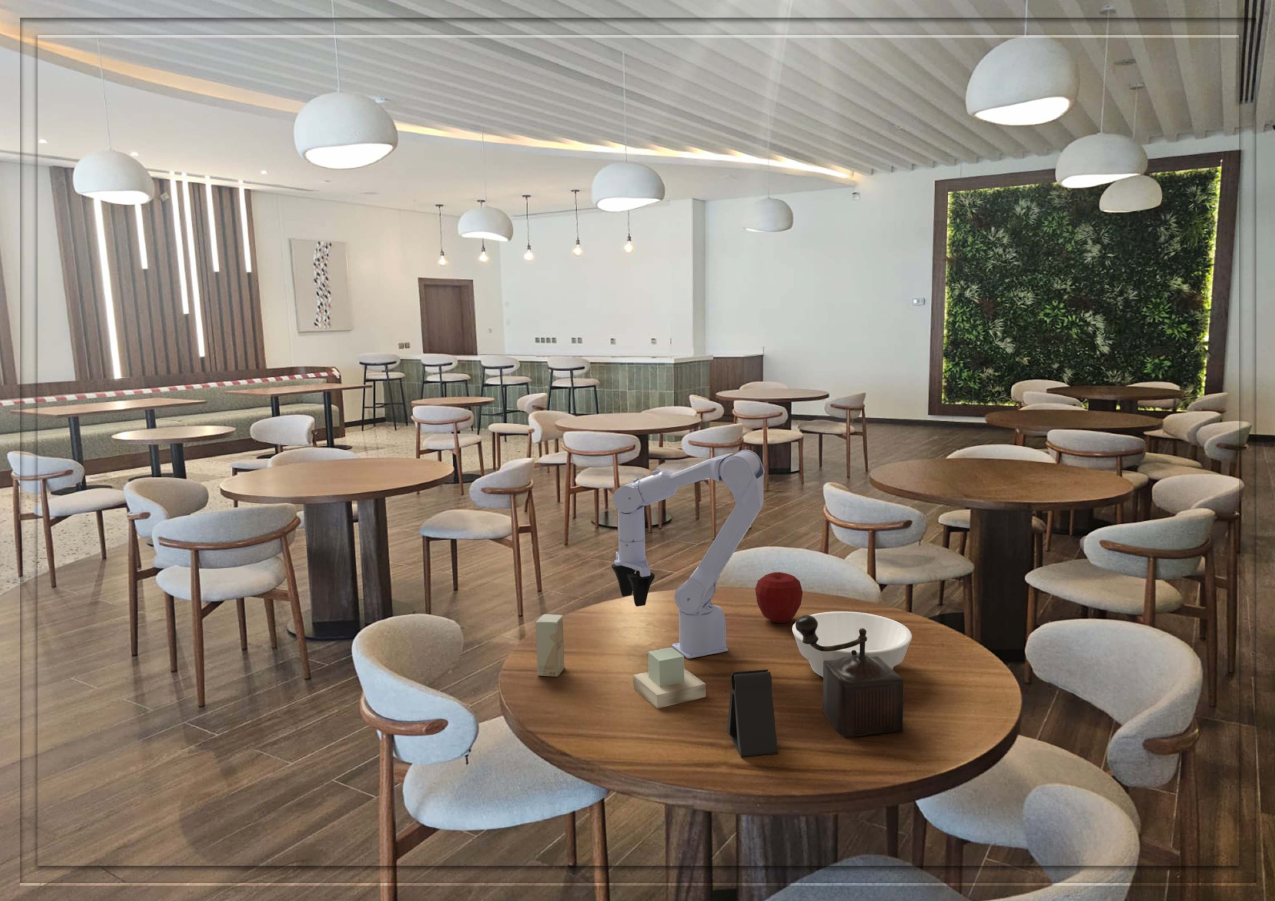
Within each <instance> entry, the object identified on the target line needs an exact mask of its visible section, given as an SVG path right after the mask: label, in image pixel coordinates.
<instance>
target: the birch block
mask: <svg viewBox="0 0 1275 901" xmlns="http://www.w3.org/2000/svg"><path fill="white" fill-rule="evenodd" d="M632 683H633V684H632V687H634V688H633V689H634V690H635V691H637V692H638V693H639V694H640V695H641V696H642V697H643V698H645V699H646V700H647V701H648V702H649V703H650V704H651V705H653V707H655V708H656V709H661V708H665V707H669V706H673V705H677V704H678V705H679V704H681V703H686V702H689V701H694V700H698V699H702V698H706V697H707V690H706V688H707V687H706V686H707V683H705V682H704V681H703V680H701V679H700V678H698V677H697V676H695V675H694V674H693V673H691V672H690V671H689V670H687V669H686V668H685V667H684V682H683V683H678V684H673V685H669V686H664V687H659V686H658V685H657V684H656V683H654V682H653V681H652V680H651V679H650V678H649V677H648V671H646V672H640V673H637V674H636V673H635V674H632Z"/></svg>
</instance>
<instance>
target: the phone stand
mask: <svg viewBox="0 0 1275 901" xmlns="http://www.w3.org/2000/svg"><path fill="white" fill-rule="evenodd" d="M772 686H773V680H772V674H771V671H769V669H766V668H765V669H757V670H755V669H754V670H745V671H742V670H741V671H732V672H731V674H730V695H729V703H728V704H729V705H728V706H729V707H728V712H727V713H728V714H727V716H728V717H727V723H726V724H727V727H726V732H727V733H728V735H729V738H730V740H731V741H732V743H733V745H734V747H735V749H736V751H737V753H738V755H739V757H740V756H741V757H740V758H745V757H757V756H767V755H777V754H778V753H779V749H778V741H777V739H778V738H777V731H776V720H775V709H774V702H773V688H772Z"/></svg>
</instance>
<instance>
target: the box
mask: <svg viewBox="0 0 1275 901" xmlns="http://www.w3.org/2000/svg"><path fill="white" fill-rule="evenodd" d="M564 638H565V637H564V616H563V614H551V613H550V614H549V613H544V614H542V615H541V616H540V617H539V618H538V619H537V620H536V621H535V641H536V643H535V644H536V662H537V663H536V664H537V667H536V668H537V676H541V677H543V676H544V677H559V676H560V674H561V673H562V672H563V670H564V669H565V645H564V644H565V642H564V641H565V640H564Z"/></svg>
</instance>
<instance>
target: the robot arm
mask: <svg viewBox="0 0 1275 901" xmlns="http://www.w3.org/2000/svg"><path fill="white" fill-rule="evenodd" d="M734 453H735V452H730V453H726V454H722V455H718V456H714V457H712V458H709V459H706V460H704V461H701V462H699V463H697V464H693V465H692V466H689V467H686V468H685V469H684V468H683V469H681V470H679V471H676V472H675V473H672V472H669V471H667V470H661V471H660V469H656V470H654V471H651V475H648V476H645V477H643V478H638V477H636V478H634V479H632V482H629V483H626V484H625V485H624V484H623V485H621V486H620V487H618V488H617V489H616V490H615V491H614V493H613V495H612V503H613V506H614V507H615V508H616V510H617V534H618V535H617V539H618V551H616V552H615V560H613V563H612V564H611V565H610V566H611V569H612V570H613V572H614V573H615V576H616V579H617V583H618V587H619V591H620V594H621V597H629V596H632V595H633V596H632V597H633V602H634V605H635V607H638V608H639V607H645V606H646V604H647V601H648V600H647V599H648V594H649V590H650V587H651V586H652V583H653V581H654V579H655V577H656V576H655V575H656V574H654V573H653V572H651V567H650V565H649V564H648V559H647V557H646V531H645V530H646V528H645V527H646V526H645V525H646V524H645V523H646V521H645V506H650V505H653V504H655V503H658V502H661V501H663V500H666V499H669V498H672V497H674V496H675V494H676V493H677V491H678V489H679V488H682V487H685V486H688V485H691V484H693V483H697V482H700V481H702V480H706V479H711V480H713V481H716V482H718V483H719V482H720V481H723V483H724V484H725V486H726V487H727V488H728V490H729V491H730V492H731V493H732V496H733V499H734V503H735V505H734V508H733V509H732V510H731V512H730V514H729V516H728V517H727V519H726V520H725V522H724V523H723V525H722V526H721V528H720V530H719V532H718V533H717V535H716V537H715V538H714V540H713V542H712V543H711V545H710V546H709V548H708V549H707V551H706V553H705V554H704V556H703V558H702V559H701V561H700V563H699V564H698V565H697V567H696V569H694V571H693V572H692V574H691V575H690V576H689V578H688V579H687V580H686V581H685V582H684V583H683V584H681V585H680V586H679V587H677V588H676V590H675V593H674V602H675V604H676V606H677V608H678V633H679V634H678V641H679V642H675V643H672V644H671V647H673V648H674V649H675V650H677V651H678V652H679V653H680V654H682V655H683V656H684V658H686V659H688V660H689V659H693V658H698V657H704V656H708V655H709V656H710V655H713V654H714V655H715V654H720V653H725V652H728V651H729V649H728V648H727V623H726V622H727V620H726V615H725V613H724V610H723V609H722V607H720V606H719V605H713V602H712V599H713V597H714V596H715V593H716V590H717V584H718V583H717V582H718V581H719V579H720V578H721V574H722V572H723V570H724V569H725V567H726V565H727V564H728V562H729V561H730V559H731V558H732V556H733V554H734V553H735V552H736V550H737V548H738V546H740V544H741V542H742V540H743V539H744V537H745V535H746V534H747V532H748V531H749V529H750V527H751V526H752V524H753V523H754V521H755V520H756V518H757V517H758V515H759V513H760V512H761V510H762V508H763V505H764V502H765V501H764V497H765V496H764V491H765V490H764V479H765V478H764V477H765V468H764V465H763V463H762V461H761V457H760V456H759V455H758V454H757V453H756V452H754V451H752V450H749V449H742V450H739V451H737V452H736V453H735V454H734ZM733 454H734V455H733Z"/></svg>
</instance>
